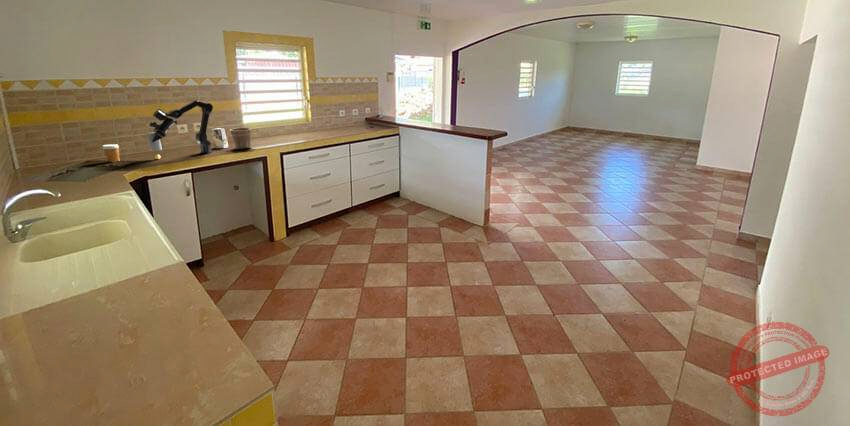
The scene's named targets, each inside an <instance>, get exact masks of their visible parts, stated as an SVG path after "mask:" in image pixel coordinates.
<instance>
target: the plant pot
mask: <svg viewBox="0 0 850 426" xmlns="http://www.w3.org/2000/svg"><path fill="white" fill-rule="evenodd" d="M229 131H230V135H232V140H233V144H234V147H235V149H236V150H246V149H245V148H249V149H251V148H252V144H251V127H236V128H230V129H229Z"/></svg>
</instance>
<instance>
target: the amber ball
mask: <svg viewBox="0 0 850 426" xmlns="http://www.w3.org/2000/svg"><path fill="white" fill-rule="evenodd" d="M154 157H155V159H156V160H160V159H161V155H160V154H156V155H155V156H154Z"/></svg>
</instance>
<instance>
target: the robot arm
mask: <svg viewBox="0 0 850 426" xmlns="http://www.w3.org/2000/svg"><path fill="white" fill-rule="evenodd" d="M197 107H198V108H201V112H202V115H201V122H200V126H199V127H200V128H199V132H198V133H196V132H195V140H196V141H195V142H196V143H198V145H199V148H200V154H210V153H212V152H213V150H212V149H211V144H212V143H211V141H209V140H208V136H207V131H208V125H209V124H208V123H209V119H210V115H211V113H212V112H213V109H214V107H213V104H212V103H209V102H202V101H199V100H192V101H191V102H189V103H187V104H185V105H183V106H181V107H179V108H176V109H172V110H170V111H168V112H164V111H163V110H162V109H161V108H158V109H157V110H155V111H154V112H153V113H152V117H154V118H156V119H157V120H159V122H160V123H157V122H155V121H149V127H152V128H153V132H155V136H154V138H153V140H152V142H155V141H157V140H159V139H160V140H161V139H163V138H165V137H166V136H167V135H166V133H167V131H169V130H170V128H171V127H172V126H173V125H174V124H175V125H178V120H177V119H179V118H181V117H182V116H183V115H184V114H185V113H187V112H189V111H190V110H192V109H194V108H197Z"/></svg>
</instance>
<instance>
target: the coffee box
mask: <svg viewBox="0 0 850 426" xmlns="http://www.w3.org/2000/svg"><path fill="white" fill-rule="evenodd" d="M211 134H212V139H213V145H214V149H227V148H229V143H228V142H229V141H228V137H227V132H226V128H224V127H223V128H220V127H219V128H217V127H216V128H211Z"/></svg>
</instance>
